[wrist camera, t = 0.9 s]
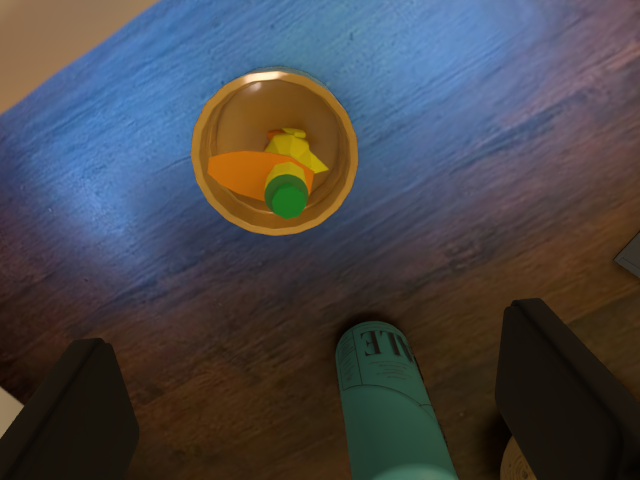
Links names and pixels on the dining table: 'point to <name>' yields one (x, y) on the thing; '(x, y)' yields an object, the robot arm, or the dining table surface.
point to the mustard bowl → (251, 134)
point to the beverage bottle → (388, 408)
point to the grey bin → (631, 256)
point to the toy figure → (271, 172)
